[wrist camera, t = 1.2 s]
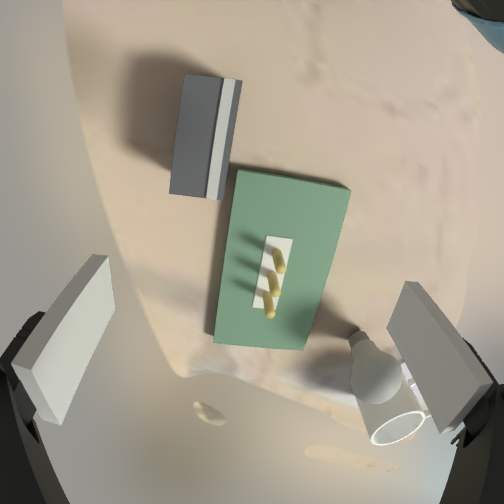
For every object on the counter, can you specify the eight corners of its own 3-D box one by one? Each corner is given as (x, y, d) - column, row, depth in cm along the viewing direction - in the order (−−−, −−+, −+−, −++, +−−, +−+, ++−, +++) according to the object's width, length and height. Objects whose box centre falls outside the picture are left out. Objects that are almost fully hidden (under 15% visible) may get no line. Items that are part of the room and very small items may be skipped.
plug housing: (195, 82, 25) (184, 73, 19) (241, 88, 25) (242, 80, 20) (182, 177, 29) (168, 194, 23) (225, 183, 29) (223, 201, 23)
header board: (237, 168, 29) (237, 178, 24) (347, 187, 30) (364, 200, 26) (213, 336, 37) (211, 363, 33) (301, 344, 38) (308, 370, 34)
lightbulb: (329, 353, 39) (352, 418, 29) (338, 317, 37) (367, 382, 27) (371, 349, 39) (399, 409, 29) (382, 314, 37) (418, 374, 27)
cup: (420, 376, 43) (444, 420, 34) (354, 402, 44) (371, 451, 35) (422, 343, 40) (452, 390, 31) (349, 372, 41) (369, 426, 32)
